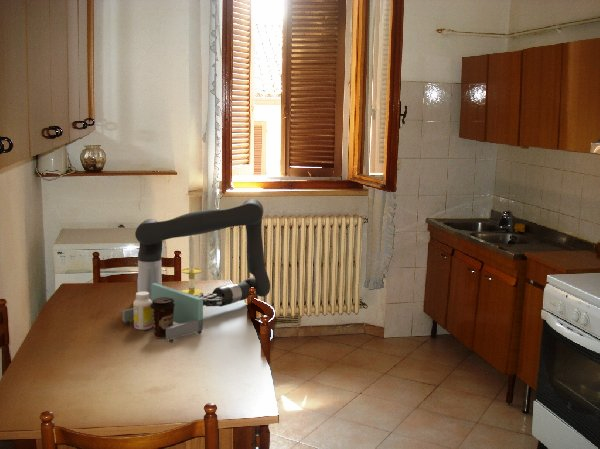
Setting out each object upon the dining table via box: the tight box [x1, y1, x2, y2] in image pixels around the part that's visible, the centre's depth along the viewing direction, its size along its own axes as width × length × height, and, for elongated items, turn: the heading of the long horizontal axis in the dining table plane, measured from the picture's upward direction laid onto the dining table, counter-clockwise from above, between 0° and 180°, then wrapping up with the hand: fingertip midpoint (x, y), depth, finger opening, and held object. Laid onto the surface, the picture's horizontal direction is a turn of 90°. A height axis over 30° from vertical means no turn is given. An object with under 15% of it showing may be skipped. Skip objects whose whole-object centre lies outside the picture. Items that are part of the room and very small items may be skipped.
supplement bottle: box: [132, 291, 153, 331], centre depth 247 cm, size 7×7×13 cm
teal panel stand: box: [121, 283, 204, 343], centre depth 245 cm, size 28×15×13 cm, turn 48°
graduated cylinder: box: [181, 235, 204, 296], centre depth 289 cm, size 10×10×27 cm
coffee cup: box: [150, 297, 175, 339], centre depth 239 cm, size 9×8×13 cm
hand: (192, 304), depth 255 cm, fingers closed
